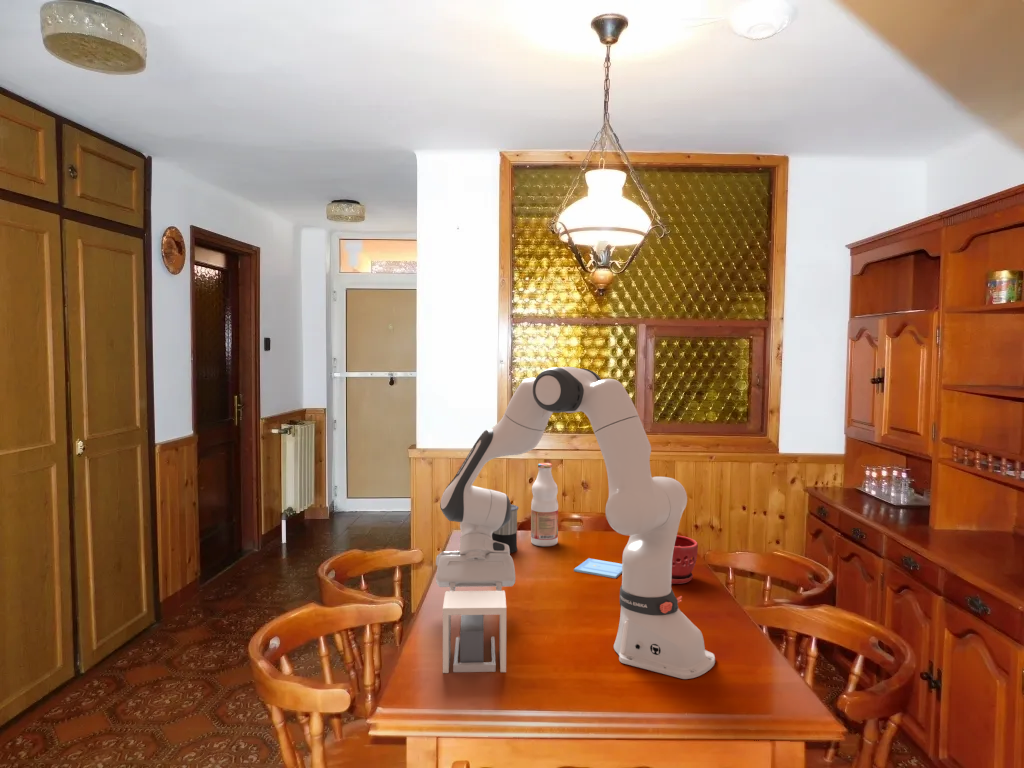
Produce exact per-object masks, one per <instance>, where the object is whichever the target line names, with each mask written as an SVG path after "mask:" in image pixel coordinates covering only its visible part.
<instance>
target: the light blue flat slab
mask: <svg viewBox="0 0 1024 768" xmlns="http://www.w3.org/2000/svg"><path fill="white" fill-rule="evenodd" d="M573 572H575V573H576V572H577V573H583V574H587V575H594V576H598V577H599V576H600V577H605V578H610V579H611V578H612V579H617V578H618V577H619V576H620V575H621V574H622V563H618V562H614V561H613V562H612V561H606V560H601V559H595V558H590V557H588V558H587V559H585V561H583V562H582V563H580V564H579V565H578V566H576V567H575V568H573Z"/></svg>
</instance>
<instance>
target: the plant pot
mask: <svg viewBox="0 0 1024 768" xmlns="http://www.w3.org/2000/svg"><path fill="white" fill-rule="evenodd" d="M698 548H699V543H698V542H697V541H696V540H695V539H693V538H691V537H687V536H684V535H683V536H682V535H679V534H677V536H676V541H675V545H674V550H673V557H672V580H671V585H673V584H674V585H679V584H686V583H689V582H690V581H692V580H693V577H694V574H693V573H692V572H693V570H694V568H695V566H696V563H697V558H698Z"/></svg>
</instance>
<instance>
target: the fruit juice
mask: <svg viewBox="0 0 1024 768" xmlns="http://www.w3.org/2000/svg"><path fill="white" fill-rule="evenodd" d="M537 469H538V473H537V476H536V479H535V481H534V482H533V483H532V486H531V493H532V499H531V503H530V505H531V506H530V511H531V513H530V517H531V518H530V523H531V524H530V541H531V543H532V545H534V546H537V547H552V546H556V545H557V544H558V539H559V502H558V499H557V495H558V493H559V489H558V487H559V486H558V485H557V483H556V481H555V480H554V476H553V473H552V469H553V464H552V463H551V462H540V463H538V464H537Z"/></svg>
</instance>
